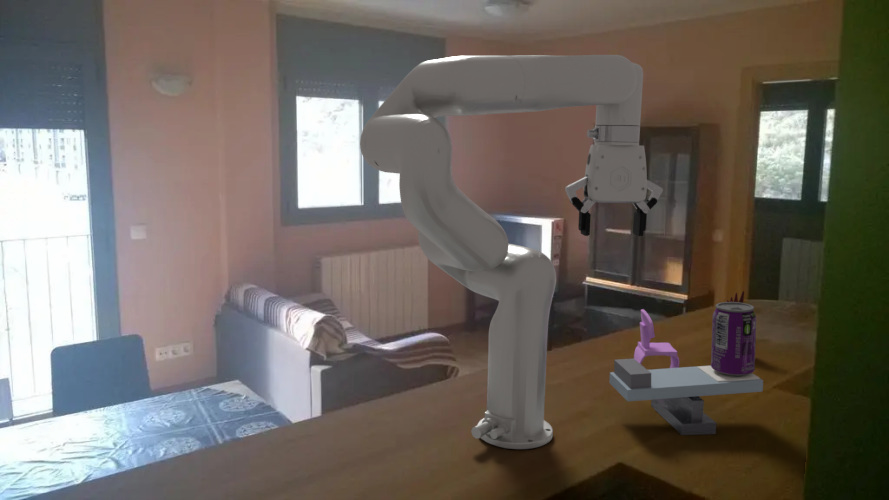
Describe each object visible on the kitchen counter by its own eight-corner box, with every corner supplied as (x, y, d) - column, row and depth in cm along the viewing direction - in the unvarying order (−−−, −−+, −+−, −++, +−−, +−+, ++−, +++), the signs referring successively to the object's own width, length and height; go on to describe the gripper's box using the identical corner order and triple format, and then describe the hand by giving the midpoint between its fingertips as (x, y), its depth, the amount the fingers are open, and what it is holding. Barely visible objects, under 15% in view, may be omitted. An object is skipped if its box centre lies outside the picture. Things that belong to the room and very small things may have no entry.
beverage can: (758, 379, 119) (761, 311, 117) (714, 378, 120) (716, 310, 118) (749, 366, 126) (751, 301, 124) (707, 364, 127) (709, 300, 125)
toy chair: (680, 389, 139) (685, 316, 137) (635, 387, 139) (640, 315, 137) (668, 375, 147) (673, 306, 145) (626, 373, 147) (631, 305, 145)
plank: (627, 401, 117) (627, 375, 116) (609, 382, 126) (609, 359, 125) (762, 391, 119) (763, 366, 119) (735, 374, 128) (736, 350, 127)
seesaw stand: (681, 435, 117) (683, 403, 116) (650, 405, 130) (652, 377, 129) (715, 434, 117) (718, 402, 116) (681, 405, 130) (683, 376, 129)
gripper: (574, 135, 115) (569, 237, 118) (674, 137, 117) (667, 238, 120) (562, 136, 123) (558, 232, 125) (656, 137, 125) (650, 232, 127)
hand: (611, 234), depth 123 cm, fingers open, 9 cm apart
